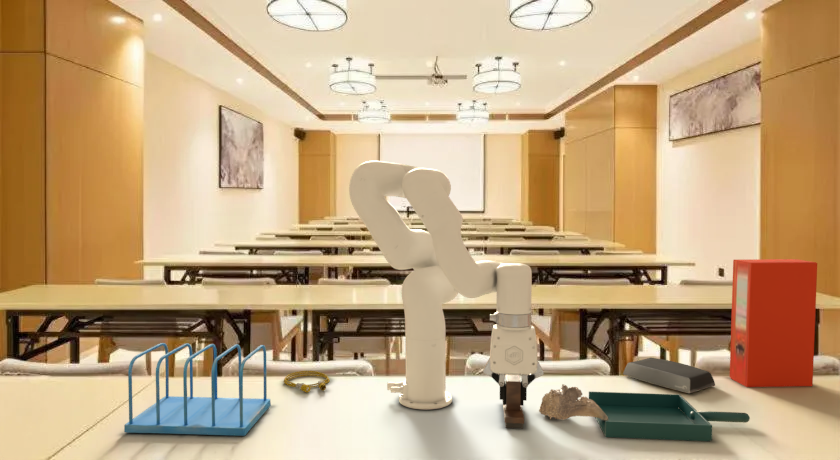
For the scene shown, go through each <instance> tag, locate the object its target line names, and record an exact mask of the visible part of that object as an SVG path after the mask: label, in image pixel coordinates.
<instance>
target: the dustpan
mask: <svg viewBox="0 0 840 460" xmlns="http://www.w3.org/2000/svg"><path fill="white" fill-rule="evenodd" d="M588 399H591V400H593V401H594V402H595V403H596V404H597V405H598V406H599V407H600V408H601V409H602V411H603V412H604V413H605V414H606V415H607V417H608V421H604V420H601V419H600V418H597V417H594V418H595V419H596V422H597V423H598V425H599V427H600V429H601V431H602V433H603V435H604V437H605V438H617V439H618V438H619V439H642V440H643V439H645V440H665V441H666V440H667V441H689V442H690V441H691V442H692V441H693V442H710V441H713V425H712V423H710V422H721V423H743V424H744V423H746V424H747V423H748V422H750V420H751V418H750V415H749V414H748V413H746V412H741V411H740V412H737V411H736V412H735V411H711V410H709V411H707V410H697V409H696V407H694V406H693V405H692V404H690V402H688V401H687V400H686V399H685V398H684V396H682V394H677V393H676V394H674V393H673V394H672V393H646V392H644V393H643V392H617V391H615V392H613V391H588Z"/></svg>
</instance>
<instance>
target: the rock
mask: <svg viewBox="0 0 840 460" xmlns="http://www.w3.org/2000/svg"><path fill="white" fill-rule="evenodd" d="M538 412H539V413H540V414H541V415H543V416H548V418H549V420H552V418H554V419H555V420H556V419H557V420H561V421H564V420H567V419H569V418H572V417H592V418H595V417H597V418H600V419H601V420H604V421H608V417H607V415H606V414H605V413H604V412H603V411H602V409H601V408H600V407H599V406H598V405H597V404H596V403H595V402H594V401H593V400H591V399H589V397H587V396H583V392H582V390H581V389H579V387H578V386H570V387H568V386H567V385H566V384H563V383H562V384H561V387H560V388H559V389H552V388H551V389H550V390H549V392H547V393H545V394H544V395H543V397H542V398H541V403H540V406H539V409H538Z"/></svg>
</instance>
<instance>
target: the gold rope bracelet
mask: <svg viewBox="0 0 840 460" xmlns="http://www.w3.org/2000/svg"><path fill="white" fill-rule="evenodd" d="M307 376H308V377H309V376H311V377H320V378H324V380H318V381H317V382H316V383H312V384H311V383H310V384H306V383H304V382H297V383H294V382H292V381H289V380H292V379H295V378H300V377H307ZM283 383H284V384H285V385H287V386H288V387H290V388H291V387H292V388H297V389H298V390H299V391H301V392H304V393H309V392H311V391H312V388H317V387H318V389H320V390H321V391H326V390H327V384H328V383H330V378H329V376H328V375H327V374H325V373H323V372H320V371H316V370H299V371H295V372H291V373H289V374H288V375H286V376H285V377H284V380H283Z"/></svg>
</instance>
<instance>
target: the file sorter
mask: <svg viewBox="0 0 840 460" xmlns="http://www.w3.org/2000/svg"><path fill="white" fill-rule="evenodd" d="M162 346H163V348H164V353H165V354H163V355H162V356H160V358H159V359H158V361H157V363H156V366H155V402H154V403H153V404H152V405H150V406H149V407H147V408H146V409H145V410H143V411H142V412H140V413H139V414H137V415H136V416H135V417H134V418H133V416H134V415H133V412H134V411H133V366H134V363H135V362H136V361H137V359H139V358H141V357H143V356H144V355H147V354H148V353H150V352H152V351H154V350H156V349H158V348H160V347H162ZM185 347H187V348H188V352H189V353H188V354H189V357H187V358H186V360H185V362H184V364H183V371H182V372H183V376H182V378H183V380H182V381H183V385H182V386H183V387H182V388H183V396H175V395H171V396H169V393H170V392H169V391H170V388H169V387H170V384H169V381H170V380H169V371H170V369H169V357H170V356H171V355H173V354H175V353H177V352H178V351H180V350H182V349H184V348H185ZM210 348H212V350H213V362H212V365H211V371H210V372H211V373H210V375H211V376H210V377H211V378H210V379H211V382H210V383H211V385H210V386H211V388H210V389H211V396H210V397H209V396H208V397H207V396H194V373H193V372H194V371H193V370H194V369H193V368H194V367H193V365H194V364H193V363H194V360H193V359H194V358H196V357H197V356H199V355H200V354H202V353H204V352H206V351H207V350H209V349H210ZM236 348H237V357H238V358H237V359H238V360H237V361H238V397H218V361H219V360H221V359H222V358H224V357H225V356H227V355H228V354H229V353H230V352H232V351H233V350H235V349H236ZM261 349H262V354H263V355H262V356H263V398H253V397H251V398H249V397H246V398H245V397H244V368H245V364H246V362H247V361H248V360H249V359H250V358H252V357H253V356H254V355H255V354H256V353H258V352H259V351H260V350H261ZM217 351H218V350H217V347H216V344H214V343H210V344H208V345H206V346H205V347H203V348H201V349H199V350H198V351H196V352H194V353H193V348H192V345H191V344H190V343H188V342H187V343H183V344H181V345H180V346H178V347H176V348H174V349H172V350H171V351H169V347H168V345H167V343H166V342H160V343H158V344H155V345H154V346H151V347H150V348H147V349H146V350H144V351H142V352H139V353H138V354H136V355H134V356H133V357H132V358H131V360H130V363H129V364H128V365H129V366H128V372H127V376H128V379H127V380H128V383H127V384H128V387H127V388H128V421H127V422H126V423H124V424H123V425H124V426H123V427H124V429H123V432H124V433H129V434H130V433H131V434H134V433H135V434H168V435H169V434H170V435H171V434H173V435H206V436H207V435H208V436H238V437H239V436H240V437H245V436H246V435H247V434H248V433H249V432H250V430H251V429H252V428H253V427H254V426H255V424H256V423H257V422H258V421H259V420H260V419H261V418H262V416H263V415H264V414H265V413H266V411H268V409H269V408H270V407H271V403H272V402H271V398H267V397H268V396H267V390H268V389H267V387H268V386H267V385H268V384H267V381H268V380H267V349H266V345H264V344H260V345H259V346H257V347H256V348H255V349H254V350H252V351H251V352H250V353H249V354H248V355H246V356H245V357H244V358H243V359H242V349H241V346H240V345H239V344H234V345H232V346H231V347H229V348H228V349H226V350H225V351H223V352H222V353H221V354H219V355H218V352H217ZM164 359H165V396H163V397H162V398H161V397H160V368H161V364H162V362H163V360H164ZM188 366H189V396H188Z"/></svg>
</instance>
